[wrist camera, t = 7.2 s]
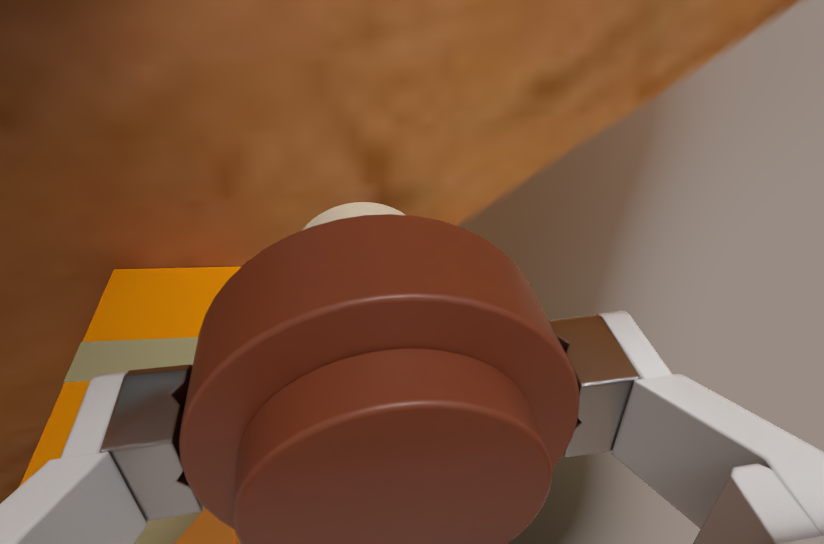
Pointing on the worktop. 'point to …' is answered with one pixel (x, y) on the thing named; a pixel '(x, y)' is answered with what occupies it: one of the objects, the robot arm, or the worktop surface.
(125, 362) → the orange juice
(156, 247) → the worktop surface
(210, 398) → the brown stepped knob
